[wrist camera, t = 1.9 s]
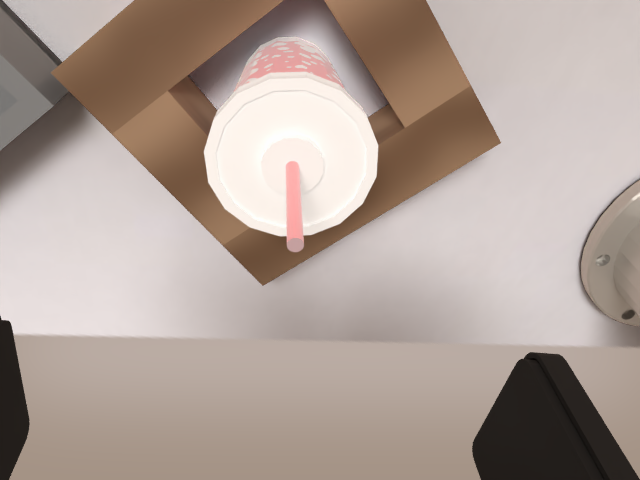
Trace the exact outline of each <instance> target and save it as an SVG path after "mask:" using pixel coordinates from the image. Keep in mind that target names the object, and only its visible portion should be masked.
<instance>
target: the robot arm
mask: <svg viewBox="0 0 640 480" xmlns="http://www.w3.org/2000/svg"><path fill="white" fill-rule="evenodd" d="M581 277H582V281H583V284H584V287H585V290H586V292H587V293H588V295H589V296H590V298H591V299H592V301H593V302H594V303H595V305H596V306H597V307H598V308H599V309H600V310H601V311H602V312H603V313H604V314H605V315H607V316H609V317H610V318H612V319H614V320H615V321H618V322H621V323H625V324H628V325H632V326H640V180H639V181H638V182H636V183H635V184H633V185H632V186H631V187H630V188H628V189H627V190H626V191H625V192H624V193H623V194H621V195H620V196H619V197H618V198H617V199H616V200H615V201H614V202H613V203H612V204H611V205H610V207H609V208H608V209H607V210H606V211H605V212H604V213H603V215H602V216H601V217H600V219H599V220H598V222H597V223H596V225H595V227H594V228H593V230H592V231H591V233H590V235H589V238H588V240H587V243H586V245H585V247H584V250H583V256H582V261H581ZM28 431H29V416H28V410H27V405H26V400H25V394H24V389H23V384H22V379H21V373H20V368H19V363H18V357H17V352H16V347H15V342H14V336H13V331H12V326H11V323H10V322H9V321H6V320H1V317H0V480H9V478H10V476H11V473H12V471H13V469H14V467H15V464H16V462H17V460H18V457H19V455H20V453H21V451H22V448H23V446H24V444H25V441H26V439H27V435H28ZM472 449H473V450H472V452H473V457H474V461H475V464H476V467H477V470H478V472H479V475H480V478H481V480H640V479H639V478H638V476H637V474H636V473H635V471H634V470H633V468H632V466H631V465H630V463H629V461H628V460H627V459H626V457H625V455H624V453H623V452H622V450H621V449H620V447H619V445H618V444H617V442H616V440H615V439H614V437H613V436H612V434H611V433H610V431H609V429H608V428H607V426H606V424H605V423H604V421H603V419H602V418H601V416H600V415H599V413H598V411H597V410H596V408H595V407H594V405H593V403H592V402H591V400H590V399H589V397H588V395H587V394H586V392H585V390H584V389H583V387H582V386H581V384H580V382H579V381H578V379H577V378H576V376H575V375H574V373H573V371H572V369H571V368H570V366H569V365H568V363H567V361H566V360H565V359H564V358H563V357H562V356H561V355H559V354H547V353H533V352H530V353H528V354H527V355H526V356H525V358H524V359H521V360H519V361H518V362H517V363H516V366H515V367H514V369H513V370H512V372H511V374H510V376H509V378H508V380H507V381H506V383H505V385H504V387H503V389H502V390H501V392H500V394H499V396H498V398H497V399H496V401H495V403H494V405H493V407H492V409H491V410H490V412H489V414H488V416H487V418H486V419H485V421H484V423H483V425H482V427H481V429H480V430H479V432H478V434H477V436H476V437H475V439H474V442H473V448H472Z"/></svg>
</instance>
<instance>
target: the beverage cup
mask: <svg viewBox="0 0 640 480" xmlns="http://www.w3.org/2000/svg"><path fill="white" fill-rule="evenodd" d="M204 156H205V163H206V170H207V177H208V183H209V184H210V186H211V188H212V189H213V191H214V193H215V194H216V196H217V197H218V199H219V201H220V202H221V204H222V205H223V207H224V209H225V210H227V211H228V212H230V213H231V214H232V215H234V216H235V217H236V218H238V219H239V220H240V221H242V222H243V223H244V224H246V225H247V226H249V227H250V228H253V229H257V230H260V231H263V232H267V233H270V234H274V235H277V236H287V248H288V249H289V250H290V251H292V252H299V251H301V250H302V249H303V247H304V237H303V235H313V234H315V233H318V232H320V231H323V230H325V229H328V228H330V227H333V226H336V225H338V224H340V223H341V222H343V221H344V220H345V219H346V218H347V217H348V216H349V215H350V214H352V213H353V212H354V211H355V210H356V209H357V208H358V207H360V206H361V205H362V204H363V202H364V200H365V198H366V196H367V194H368V192H369V190H370V188H371V186H372V185H373V183H374V181H375V179H376V177H377V160H378V143H377V141H376V138H375V136H374V133H373V131H372V128H371V125H370V123H369V120H368V118H367V115H366V113H365V111H364V110H363V107H362V106H361V105H360V104H359V103H358V102H357V101H355V100H354V99H353V98H352V97H351V96H350V95H349V94H348V93H347V92H346V90H345V88H344V86H343V84H342V83H341V81H340V79H339V77H338V75H337V73H336V71H335V69H334V68H333V66H332V64H331V62H330V60H329V58H328V57H327V56H326V55H325V54H324V53H323V52H322V51H321V50H320V49H319V48H318V47H317V46H316V45H315V44H313V43H311V42H309V41H306V40H304V39H301V38H299V37H277V38H275V39H273V40H271V41H269V42H267V43H265V44H262V45H260V47H259V48H258V49H257V50H256V51H255V52H254V53H253V55H252V56H251V57H250V58H249V59H248V61H247V63H246V66H245V68H244V70H243V72H242V74H241V77H240V79H239V81H238V83H237V86H236V88H235V90H234V92H233V94H232V95H231V96H230V98H229V99H228V100H227V101H226V102H225V103H224V104H223V105H222V107H221V108H220V109H219V110H218V111H217V112H216V116H215V117H214V119H213V123H212V126H211V129H210V133H209V136H208V139H207V143H206V146H205V149H204Z"/></svg>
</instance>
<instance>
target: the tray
mask: <svg viewBox="0 0 640 480" xmlns="http://www.w3.org/2000/svg"><path fill="white" fill-rule="evenodd" d="M61 63H62V62H61V60H60V59H59V58H58V57H57V56H56V55H55V54H54V53H53V52H52V51H51V50H50V49H49V48H48V47H47V46H46V45H45V44H44V43H43V42H42V41H41V40H40V39H39V38H38V37H37V36H36V35H35V34H34V33H33V32H32V31H31V30H30V29H29V28H28V27H27V25H26V24H25V23H24V22H23V21H22V20H21V19H20V18H19V17H18V16H17V15H16V14H15V13H14V12H13V11H12V10H11V9H10V8H9V7H8V6H7V5H6V4H5V3H4V2H3V1H2V0H0V150H2V149H3V148H4V147H5V146H6V145H8V144H9V143H10V142H11V141H12V140H14V139H15V138H16V137H17V136H18V135H20V134H21V133H22V132H23V131H24V130H26V129H27V128H28V127H29V126H30V125H32V124H33V123H34V122H35V121H36V120H38V119H39V118H40V117H41V116H42V115H43V114H45V113H46V112H47V111H48V110H49V109H51V108H52V107H53V106H54V105H55V104H56V103H57V102H58V101H59V100H61V99H62V98H63V97H64V96H65V95H66V94H67V93H68V92H69V91H68V90H67V89H66V88H65V87H64V86H63V85H62V84H61V83H60V82H59V81H58V80H57V79H56V78H55V77H54V76H53V75H52V74H51V72H52V71H53V70H54V69H55V68H57V67H58V66H59V65H60V64H61Z"/></svg>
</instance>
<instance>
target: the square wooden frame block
mask: <svg viewBox="0 0 640 480" xmlns="http://www.w3.org/2000/svg"><path fill="white" fill-rule="evenodd" d="M282 1H284V0H134V1H133V2H132V3H131V4H130V5H128V6H127V7H126V8H125V9H124V10H123V11H121V12H120V13H119V14H118V15H117V16H116V17H114V18H113V19H112V20H111V21H110V22H109V23H108V24H106V25H105V26H104V27H103V28H102V29H101V30H99V31H98V32H97V33H96V34H95V35H94V36H92V37H91V38H90V39H89V40H88V41H87V42H85V43H84V44H83V45H82V46H81V47H80V48H79V49H77V50H76V51H75V52H74V53H73V54H72V55H70V56H69V57H68V58H67V59H66V60H65V61H63V62H62V63H61V64H60V65H59V66H58V67H57V68H55V69H54V70H53V71H52V72H51V74H52V75H53V76H54V77H55V78H56V79H57V80H58V81H59V82H60V83H61V84H62V85H63V86H64V87H65V88H66V89H67V90H68V91H69V92H70V93H71V94H72V95H73V96H74V97H75V98H76V99H77V100H78V101H79V102H80V103H81V104H82V105H83V106H84V107H85V108H86V109H87V110H88V111H89V112H90V113H91V114H92V115H93V116H94V117H95V118H96V119H97V120H98V121H99V122H100V123H101V124H102V125H103V126H104V127H105V128H106V129H107V130H108V131H109V132H110V133H111V134H112V135H113V136H114V137H115V138H116V139H117V140H118V141H119V142H120V143H121V144H122V145H123V146H124V147H125V148H126V149H127V150H128V151H129V152H130V153H131V154H132V155H133V156H134V157H135V158H136V159H137V160H138V161H139V162H140V163H141V164H142V165H143V166H144V167H145V168H146V169H147V170H148V171H149V172H150V173H151V174H152V175H153V176H154V177H155V178H156V179H157V180H158V181H159V182H160V183H161V184H162V185H163V186H164V187H165V188H166V189H167V190H168V191H169V192H170V193H171V194H172V195H173V196H174V197H175V198H176V199H177V200H178V201H179V202H180V203H181V204H182V205H183V206H184V207H185V208H186V209H187V210H188V211H189V212H190V213H191V214H192V215H193V216H194V217H195V218H196V219H197V220H198V221H199V222H200V223H201V224H202V225H203V226H204V227H205V228H206V229H207V230H208V231H209V232H210V233H211V234H212V235H213V236H214V237H215V238H216V239H217V240H218V241H219V242H220V243H221V244H222V245H223V246H224V247H225V248H226V249H227V250H228V251H229V252H230V253H231V254H232V255H233V256H234V257H235V258H236V259H237V260H238V261H239V262H240V263H241V264H242V265H243V266H244V267H245V268H246V269H247V270H248V271H249V272H250V273H251V274H252V275H253V276H254V277H255V278H256V279H257V280H258V281H259V282H260V283H261V284H262V285H265V284H267V283H268V282H270V281H272V280H273V279H275V278H277V277H278V276H280V275H282V274H283V273H285V272H287V271H288V270H290V269H292V268H293V267H295V266H297V265H298V264H300V263H302V262H303V261H305V260H307V259H308V258H310V257H312V256H313V255H315V254H317V253H318V252H320V251H322V250H323V249H325V248H327V247H328V246H330V245H332V244H333V243H335V242H337V241H338V240H340V239H342V238H343V237H345V236H347V235H348V234H350V233H352V232H353V231H355V230H357V229H358V228H360V227H362V226H363V225H365V224H367V223H368V222H370V221H372V220H373V219H375V218H377V217H378V216H380V215H382V214H383V213H385V212H387V211H388V210H390V209H392V208H393V207H395V206H397V205H398V204H400V203H402V202H403V201H405V200H407V199H408V198H410V197H412V196H413V195H415V194H417V193H418V192H420V191H422V190H423V189H425V188H427V187H428V186H430V185H432V184H433V183H435V182H437V181H438V180H440V179H442V178H443V177H445V176H447V175H448V174H450V173H452V172H453V171H455V170H457V169H458V168H460V167H462V166H463V165H465V164H467V163H468V162H470V161H472V160H473V159H475V158H477V157H478V156H480V155H482V154H483V153H485V152H487V151H488V150H490V149H492V148H493V147H495V146H497V145H498V144H500V143H501V142H500V140H499V138H498V136H497V134H496V132H495V130H494V128H493V126H492V125H491V123H490V121H489V119H488V117H487V115H486V113H485V111H484V109H483V108H482V106H481V104H480V102H479V100H478V98H477V96H476V94H475V92H474V91H473V89H472V87H471V85H470V83H469V81H468V79H467V77H466V75H465V74H464V72H463V70H462V68H461V66H460V64H459V62H458V60H457V58H456V56H455V55H454V53H453V51H452V49H451V47H450V45H449V43H448V41H447V39H446V38H445V36H444V34H443V32H442V30H441V28H440V26H439V24H438V22H437V21H436V19H435V17H434V15H433V13H432V11H431V9H430V7H429V5H428V3H427V2H426V0H324V1H325V3H326V4H327V6H328V7H329V9H330V10H331V12H332V14H333V15H334V17H335V18H336V20H337V21H338V23H339V25H340V26H341V28H342V29H343V31H344V32H345V34H346V36H347V37H348V39H349V40H350V42H351V44H352V45H353V47H354V48H355V50H356V51H357V53H358V55H359V56H360V58H361V59H362V61H363V62H364V64H365V66H366V67H367V69H368V70H369V72H370V73H371V75H372V77H373V78H374V80H375V81H376V83H377V84H378V86H379V88H380V89H381V91H382V92H383V94H384V96H385V97H386V99H387V100H388V102H389V104H388V105H386V106H385V107H383V108H382V109H380V110H378V111H377V112H375V113H374V114H372V115H371V116H369V117H368V120H369V123H370V125H371V128H372V131H373V133H374V136H375V138H376V141H377V143H378V160H377V177H376V179H375V181H374V183H373V185H372V186H371V188H370V190H369V192H368V194H367V196H366V198H365V200H364V202H363V204H362V205H361V206H360V207H358V208H357V209H356V210H355V211H354V212H353V213H352V214H350V215H349V216H348V217H347V218H346V219H345V220H344V221H343V222H341V223H340V224H338V225H336V226H333V227H330V228H328V229H325V230H323V231H320V232H318V233H315V234H313V235H303V237H304V247H303V249H302V250H301V251H299V252H292V251H290V250H289V249H288V248H287V236H277V235H274V234H270V233H267V232H263V231H260V230H257V229H253V228H250V227H249V226H247V225H246V224H244V223H243V222H242V221H240V220H239V219H238V218H236V217H235V216H234V215H232V214H231V213H230V212H228V211H227V210H225V209H224V207H223V205H222V204H221V202H220V201H219V199H218V197H217V196H216V194H215V193H214V191H213V189H212V188H211V186H210V184H209V183H208V177H207V170H206V163H205V156H204V149H205V146H206V143H207V139H208V136H209V133H210V129H211V126H212V123H213V119H214V117H215V116H216V112H217V110H216V108H215V107H214V106H213V105H212V104H211V103H210V101H209V100H208V99H207V98H206V97H205V95H204V94H203V93H202V92H201V91H200V89H199V88H198V87H197V86H196V85H195V84H194V82H193V81H192V80H191V79H190V78H189V76H188V75H189V74H190V73H191V72H192V71H194V70H195V69H196V68H198V67H199V66H200V65H201V64H203V63H204V62H205V61H207V60H208V59H209V58H210V57H212V56H213V55H214V54H216V53H217V52H218V51H219V50H221V49H222V48H223V47H225V46H226V45H227V44H228V43H230V42H231V41H232V40H234V39H235V38H236V37H237V36H239V35H240V34H241V33H243V32H244V31H245V30H246V29H248V28H249V27H250V26H252V25H253V24H254V23H255V22H257V21H258V20H259V19H261V18H262V17H263V16H264V15H266V14H267V13H268V12H270V11H271V10H272V9H273V8H275V7H276V6H277V5H279V4H280V3H281V2H282Z"/></svg>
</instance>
